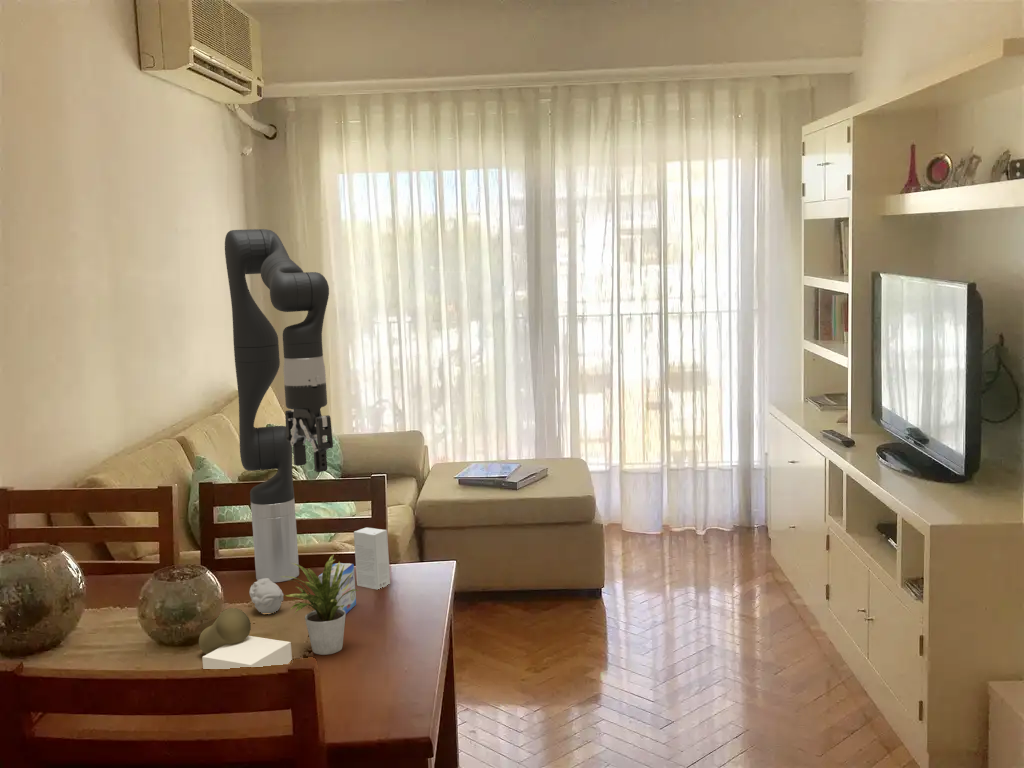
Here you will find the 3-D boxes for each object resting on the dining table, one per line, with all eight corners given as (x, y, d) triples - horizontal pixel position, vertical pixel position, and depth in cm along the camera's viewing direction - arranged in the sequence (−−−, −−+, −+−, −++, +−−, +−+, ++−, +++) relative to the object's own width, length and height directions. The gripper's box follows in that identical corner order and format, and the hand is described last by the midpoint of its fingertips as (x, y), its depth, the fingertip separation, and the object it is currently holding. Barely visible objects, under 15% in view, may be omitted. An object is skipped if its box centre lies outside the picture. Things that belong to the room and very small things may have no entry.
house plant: (292, 633, 176) (286, 547, 174) (367, 629, 176) (363, 543, 175) (278, 664, 161) (271, 571, 160) (360, 659, 162) (354, 567, 160)
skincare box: (391, 584, 202) (388, 529, 200) (377, 590, 198) (374, 534, 197) (369, 580, 205) (366, 526, 204) (355, 586, 202) (352, 531, 200)
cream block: (204, 686, 155) (202, 656, 154) (245, 662, 164) (243, 634, 163) (253, 695, 151) (251, 664, 150) (292, 670, 160) (290, 642, 159)
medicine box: (342, 619, 182) (339, 575, 181) (320, 618, 183) (317, 574, 182) (356, 605, 190) (354, 563, 189) (335, 604, 191) (333, 562, 190)
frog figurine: (266, 606, 191) (264, 572, 190) (292, 611, 188) (289, 577, 187) (243, 616, 186) (241, 581, 185) (269, 621, 182) (267, 586, 182)
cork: (241, 649, 159) (217, 666, 166) (256, 618, 163) (233, 636, 170) (209, 632, 157) (187, 650, 165) (225, 601, 161) (203, 620, 169)
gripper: (269, 381, 178) (275, 466, 180) (303, 386, 167) (309, 477, 169) (306, 377, 183) (311, 460, 184) (341, 382, 171) (347, 470, 173)
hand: (310, 468), depth 176 cm, fingers open, 8 cm apart
